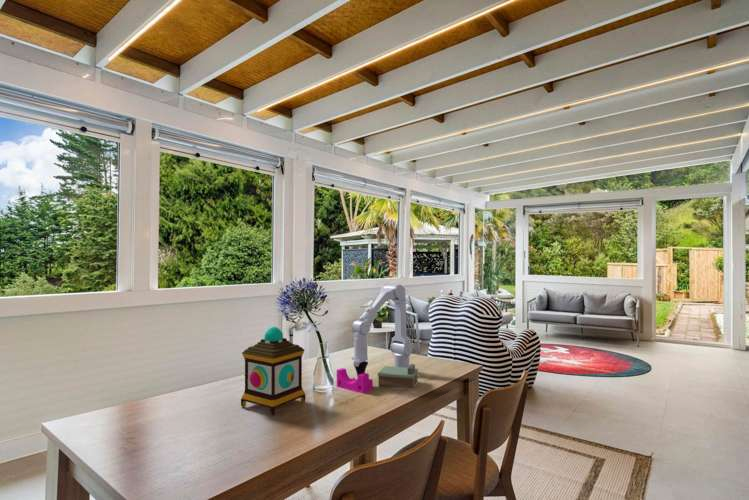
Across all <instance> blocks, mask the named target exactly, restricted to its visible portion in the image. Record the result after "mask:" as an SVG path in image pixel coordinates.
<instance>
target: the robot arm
mask: <svg viewBox="0 0 749 500" xmlns="http://www.w3.org/2000/svg"><path fill="white" fill-rule="evenodd" d="M389 300H391V302H393V303H394V336H393V337H391V344H390V347H389V348H390V351H391V353H392V355H393V367H404V368H408V367H409V366H410V365H411V363H410V356H411V354H412V353H413V345H412V339H411V338H410V337H409V336H408V335H407V298H406V288H405V287H404V286H403V285H402V284H394V283H393V284H392V283H384V284H383V285H382V286H381V288H380V290H379V293H378V296H377V297H376V299H375V301H374V302H373V303H372V305H371V306H370V307H366V308H365V309H364V312H363V313H362V314H361V315H360V317H359V318H358V319H357V320H355V321H353V323H352V325H351V331H352V333H353V334H352V335H353V340H354V342H353V343H354V345H353V347H354V349H353V351H354V352H353V353H354V356H352V357H351V360H353V367H354V369H355V372H356V377H358V375H359V374H362V373H366V369H367V366H368V364H369V362H368V359H369V357H368V333H370V331H371V327H372V324H373V322H374V321H375V320H376V318H378V311H379V310H380V309H381V308H382V307H383V306H384V305H385V304H386V302H387V301H389Z"/></svg>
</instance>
